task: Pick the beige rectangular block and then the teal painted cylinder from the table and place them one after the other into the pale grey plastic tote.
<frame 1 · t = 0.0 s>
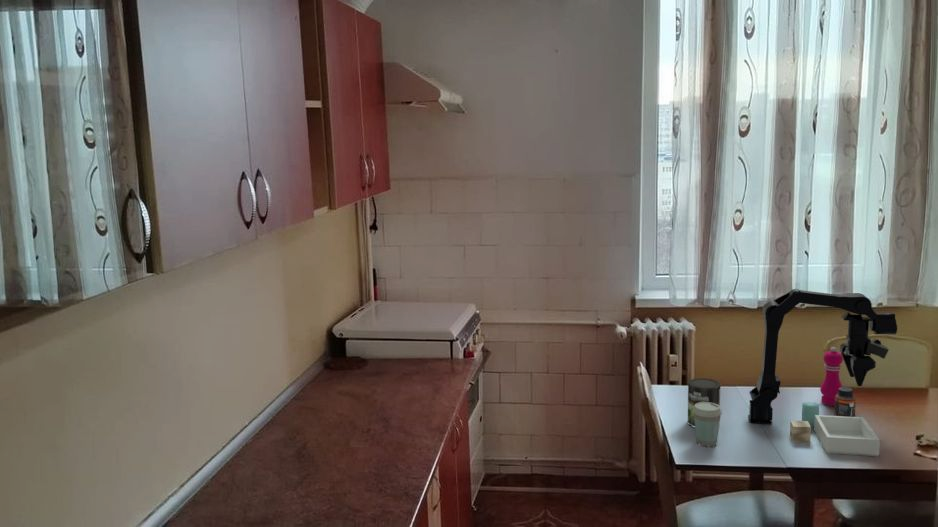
hand: (855, 381, 234), 15 cm above the table, tool pointing down, fingers open, 9 cm apart
tote: (845, 442, 224), on the table
beige rectangular block: (800, 439, 228), on the table
pepper mill: (831, 402, 257), on the table
teal cylinder: (810, 425, 238), on the table
coffee can: (703, 424, 242), on the table
supplement bottle: (844, 423, 239), on the table
coffee cup: (706, 443, 227), on the table
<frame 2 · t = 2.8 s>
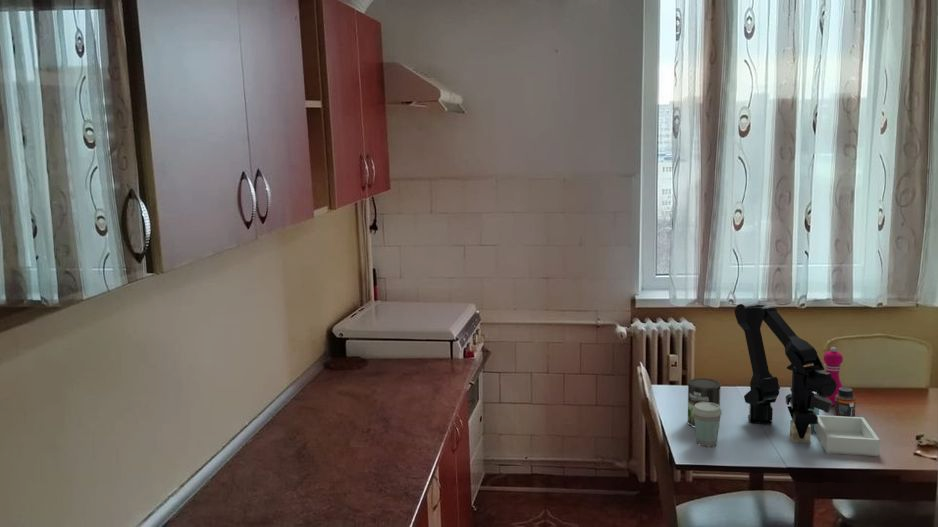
hand: (800, 435, 227), 1 cm above the table, tool pointing down, fingers closed on beige rectangular block, 5 cm apart
beige rectangular block: (800, 438, 228), on the table, touching gripper
everything else where it was.
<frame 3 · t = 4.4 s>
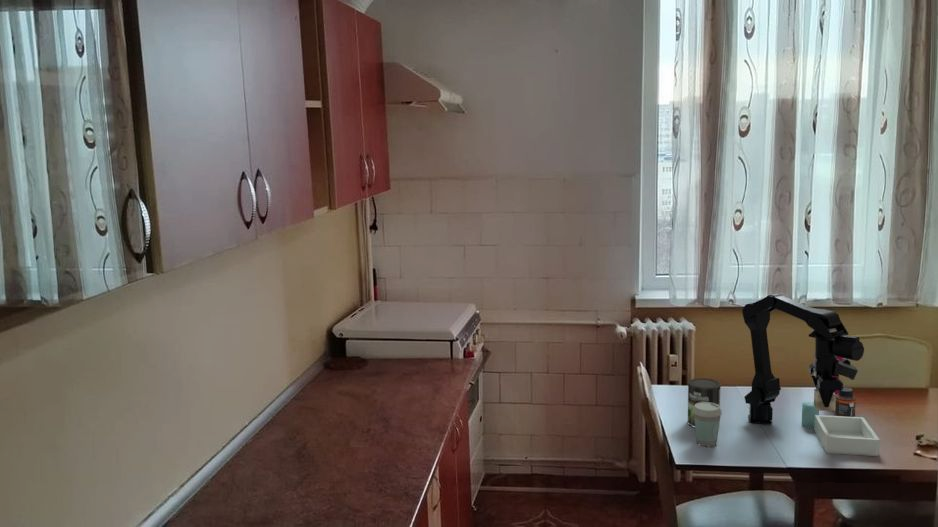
hand: (824, 404, 221), 13 cm above the table, tool pointing down, fingers closed on beige rectangular block, 5 cm apart
beige rectangular block: (824, 407, 221), point 11 cm above the table, touching gripper
everything else where it was.
when the fingers open (6 cm above the table, at t = 6.3 s): beige rectangular block drops 4 cm, resting on tote.
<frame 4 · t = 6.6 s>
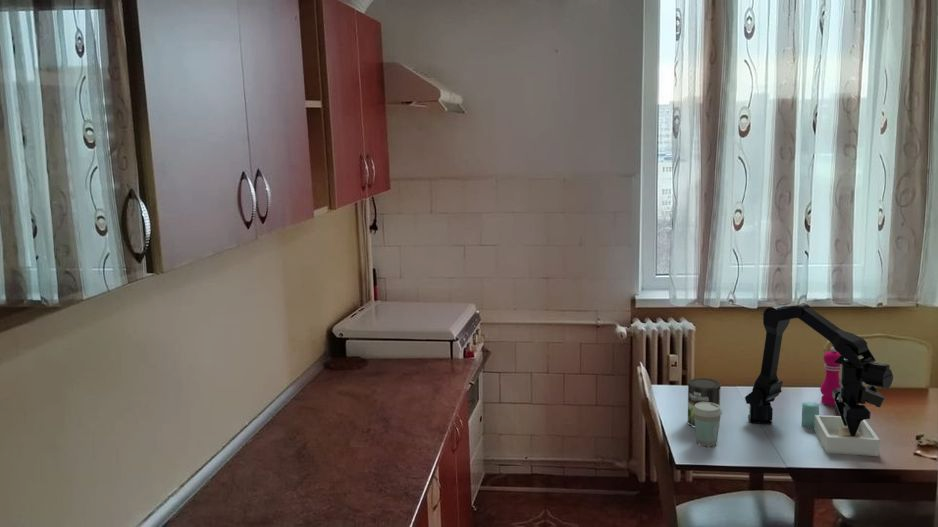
hand: (849, 430, 218), 6 cm above the table, tool pointing down, fingers open, 8 cm apart
beige rectangular block: (848, 446, 219), resting on tote
everything else where it was.
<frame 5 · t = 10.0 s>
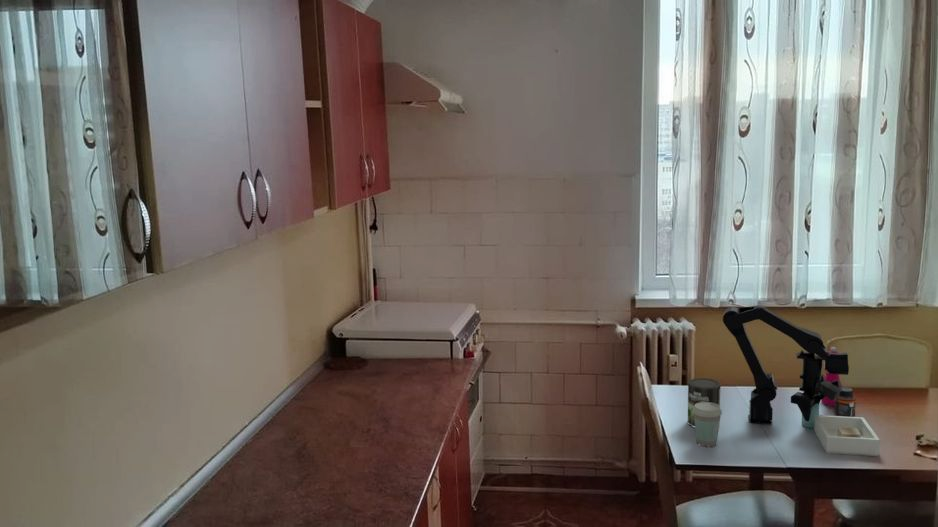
hand: (810, 418, 237), 2 cm above the table, tool pointing down, fingers closed on teal cylinder, 5 cm apart
teal cylinder: (809, 425, 238), on the table, touching gripper
everything else where it was.
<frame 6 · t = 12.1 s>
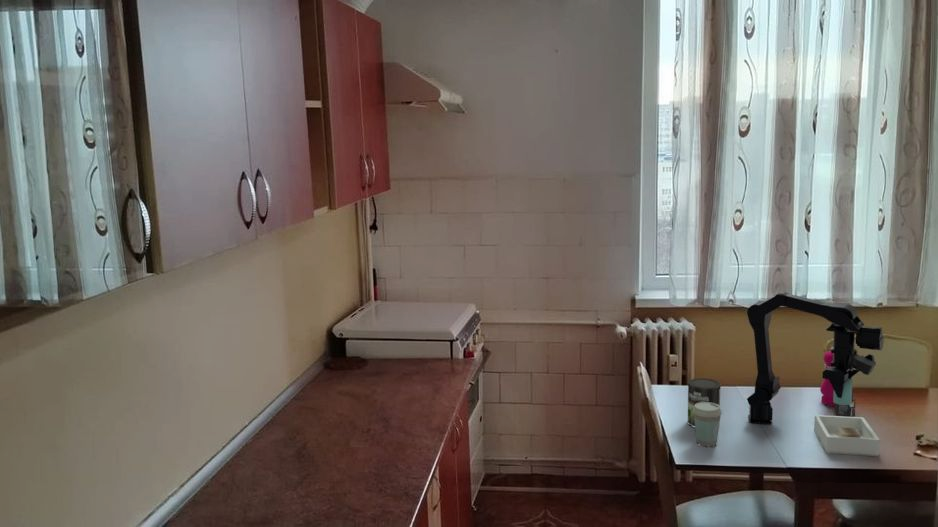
hand: (842, 395, 226), 13 cm above the table, tool pointing down, fingers closed on teal cylinder, 5 cm apart
teal cylinder: (842, 402, 226), point 11 cm above the table, touching gripper
everything else where it was.
when the fingers open (5 cm above the table, at t = 14.0 s): teal cylinder drops 3 cm, resting on tote.
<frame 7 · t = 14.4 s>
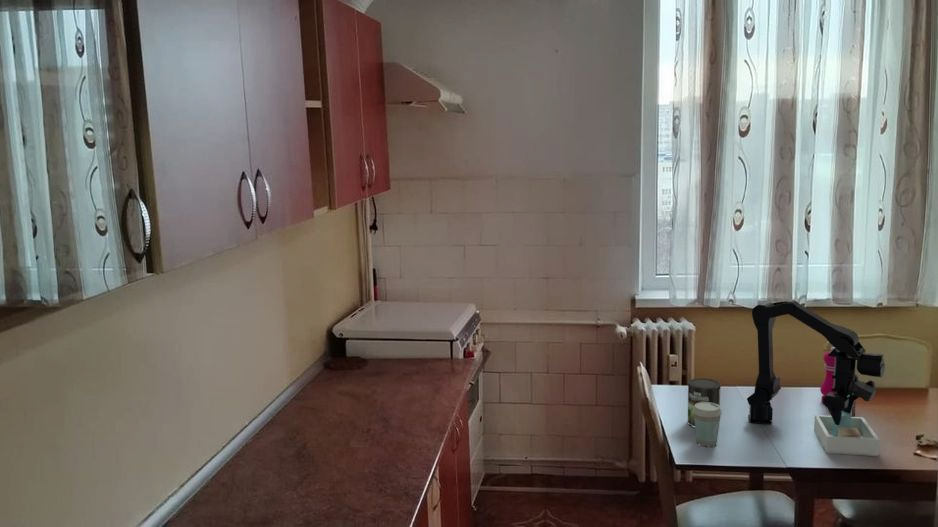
hand: (842, 420, 227), 5 cm above the table, tool pointing down, fingers open, 9 cm apart
teal cylinder: (841, 435, 227), point 1 cm above the table, touching tote
everything else where it was.
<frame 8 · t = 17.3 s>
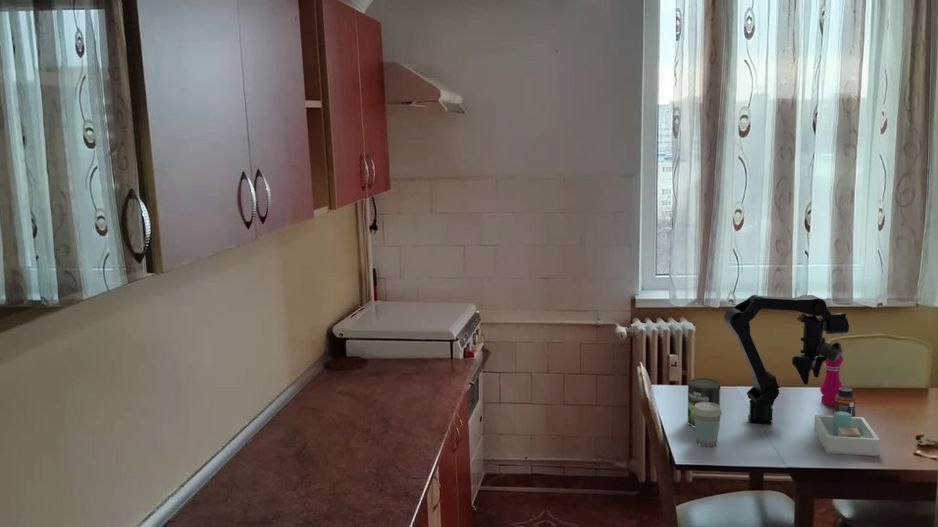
hand: (811, 380, 241), 13 cm above the table, tool pointing down, fingers open, 9 cm apart
nothing on the table moved.
at the end: beige rectangular block inside the target area on the tote (4.5 cm from its centre), point 0.5 cm above the tote's base; teal cylinder inside the target area on the tote (3.9 cm from its centre), point 0.5 cm above the tote's base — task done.
